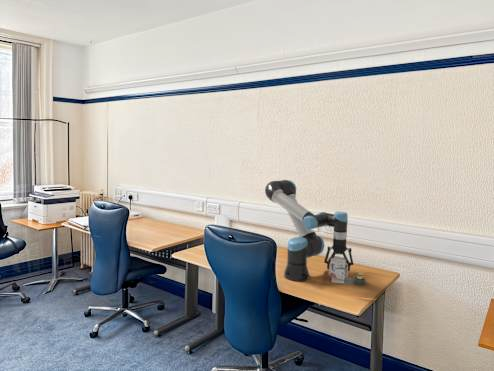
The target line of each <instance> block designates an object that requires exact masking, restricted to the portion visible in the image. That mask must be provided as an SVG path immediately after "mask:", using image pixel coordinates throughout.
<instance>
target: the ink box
mask: <svg viewBox="0 0 494 371" xmlns="http://www.w3.org/2000/svg"><path fill="white" fill-rule="evenodd" d="M330 263H331V268H330V275H329V278H331V277H334V278H339V279H345V278H346V266H347V265H348V264H347V262H346V259H345V258H344V256H336V255H335V256H334V257H333V258H331V262H330Z"/></svg>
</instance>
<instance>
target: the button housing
mask: <svg viewBox="0 0 494 371" xmlns="http://www.w3.org/2000/svg"><path fill="white" fill-rule="evenodd" d="M353 278H354V285H355V286H364V285H365V286H366V278H365V276H363V280H360V279H356V275H354V276H353Z"/></svg>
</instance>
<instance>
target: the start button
mask: <svg viewBox="0 0 494 371" xmlns="http://www.w3.org/2000/svg"><path fill="white" fill-rule="evenodd" d="M364 275H365V273H364V272H363V271H356V272H355V276H356V279H360V280H363V277H364Z"/></svg>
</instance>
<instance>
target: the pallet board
mask: <svg viewBox="0 0 494 371" xmlns="http://www.w3.org/2000/svg"><path fill="white" fill-rule="evenodd" d="M330 283H332V284H345V285H354V277H349V276H348V277H346V278H345V279H339V278H334V277H330ZM363 286H366V284H365V285H363Z"/></svg>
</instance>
